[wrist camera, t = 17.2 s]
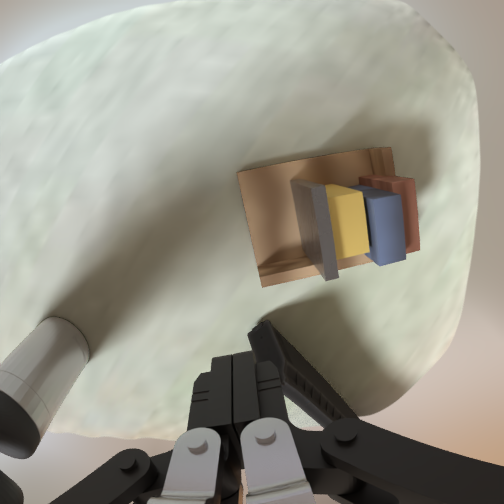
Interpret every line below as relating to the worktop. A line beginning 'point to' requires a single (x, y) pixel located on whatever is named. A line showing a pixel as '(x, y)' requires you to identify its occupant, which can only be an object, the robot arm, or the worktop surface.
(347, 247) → the book
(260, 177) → the shelf
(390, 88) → the worktop surface
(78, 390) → the worktop surface
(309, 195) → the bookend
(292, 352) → the magazine
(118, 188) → the worktop surface
